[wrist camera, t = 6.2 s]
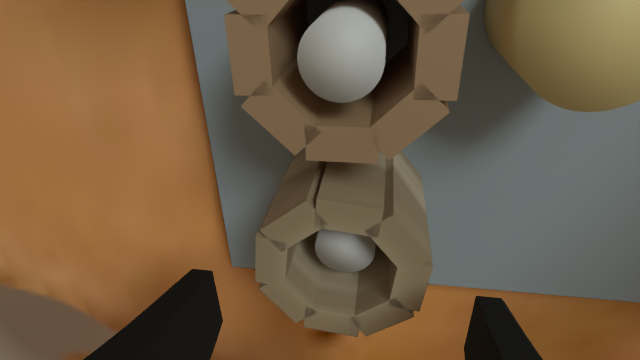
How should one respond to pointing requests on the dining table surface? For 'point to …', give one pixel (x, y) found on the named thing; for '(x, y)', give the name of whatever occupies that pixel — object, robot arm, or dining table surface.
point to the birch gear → (351, 217)
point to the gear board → (441, 127)
